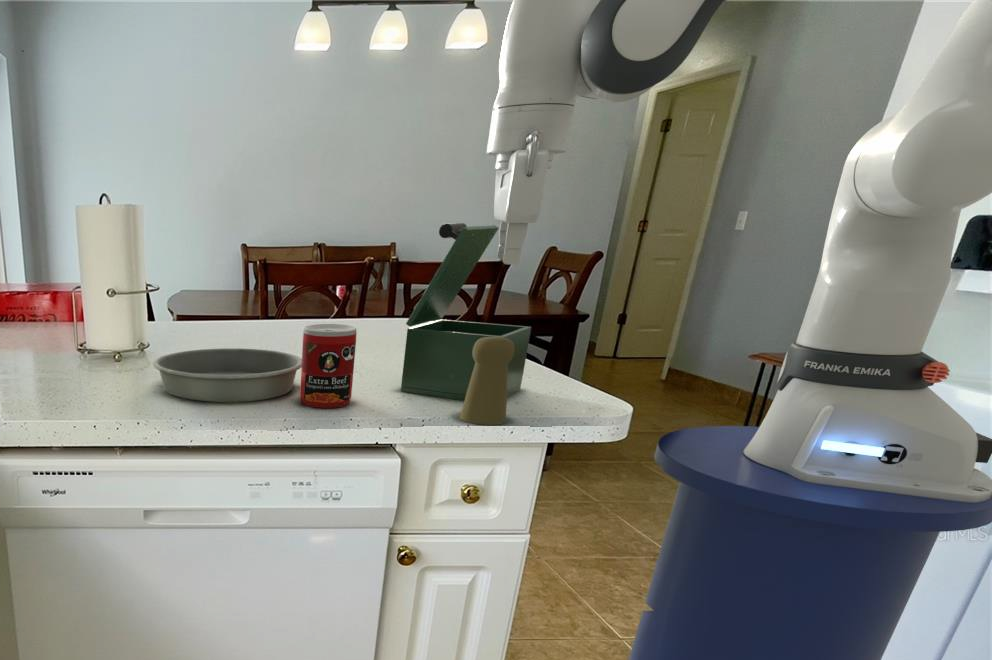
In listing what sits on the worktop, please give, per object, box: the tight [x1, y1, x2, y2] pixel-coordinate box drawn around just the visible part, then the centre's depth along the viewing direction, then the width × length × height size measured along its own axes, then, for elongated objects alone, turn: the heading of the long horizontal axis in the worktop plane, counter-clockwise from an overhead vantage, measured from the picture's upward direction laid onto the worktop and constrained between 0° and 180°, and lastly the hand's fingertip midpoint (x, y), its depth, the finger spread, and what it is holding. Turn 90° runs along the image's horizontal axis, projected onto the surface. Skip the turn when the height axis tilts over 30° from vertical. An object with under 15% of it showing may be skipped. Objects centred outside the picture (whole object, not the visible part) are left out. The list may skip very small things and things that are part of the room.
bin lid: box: [405, 222, 500, 328], centre depth 110 cm, size 16×13×5 cm
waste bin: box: [400, 318, 532, 401], centre depth 112 cm, size 15×13×10 cm
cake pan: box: [152, 347, 302, 403], centre depth 117 cm, size 25×25×4 cm
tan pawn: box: [459, 337, 515, 426], centre depth 96 cm, size 6×6×11 cm
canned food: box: [299, 323, 357, 409], centre depth 106 cm, size 8×8×11 cm
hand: (506, 261), depth 90 cm, fingers open, 8 cm apart
